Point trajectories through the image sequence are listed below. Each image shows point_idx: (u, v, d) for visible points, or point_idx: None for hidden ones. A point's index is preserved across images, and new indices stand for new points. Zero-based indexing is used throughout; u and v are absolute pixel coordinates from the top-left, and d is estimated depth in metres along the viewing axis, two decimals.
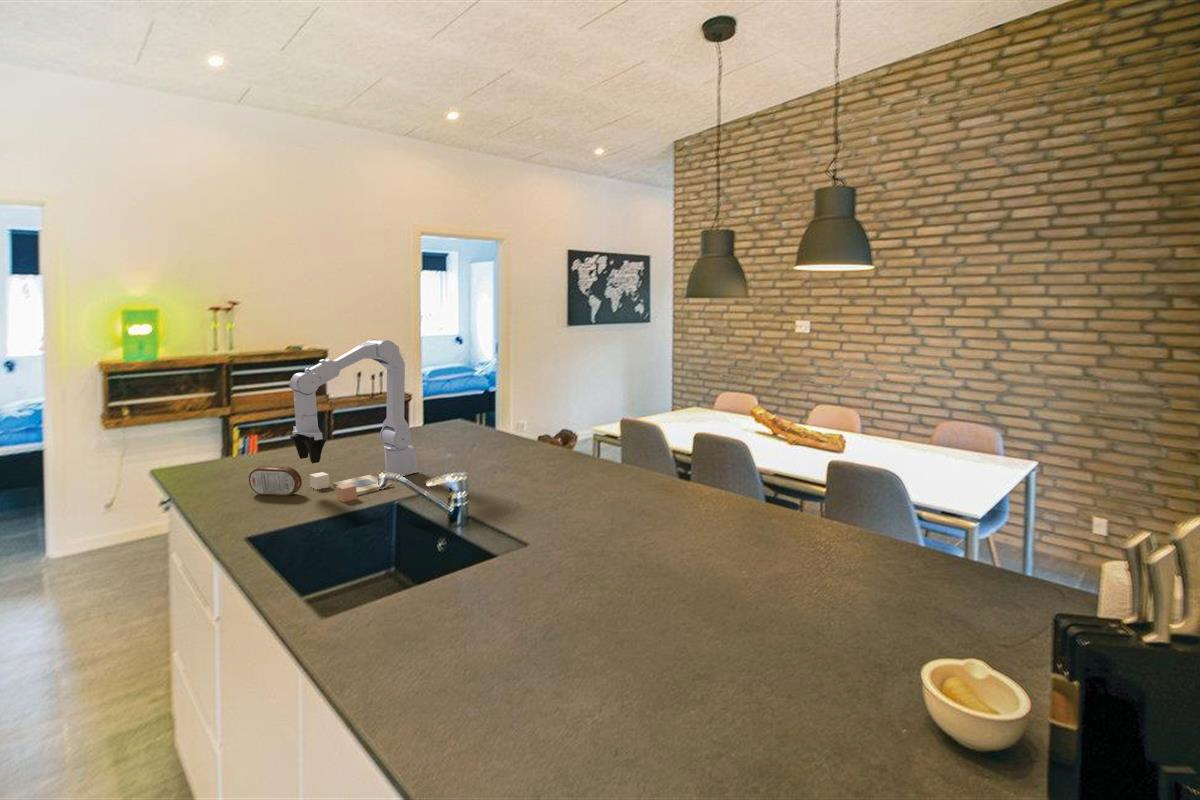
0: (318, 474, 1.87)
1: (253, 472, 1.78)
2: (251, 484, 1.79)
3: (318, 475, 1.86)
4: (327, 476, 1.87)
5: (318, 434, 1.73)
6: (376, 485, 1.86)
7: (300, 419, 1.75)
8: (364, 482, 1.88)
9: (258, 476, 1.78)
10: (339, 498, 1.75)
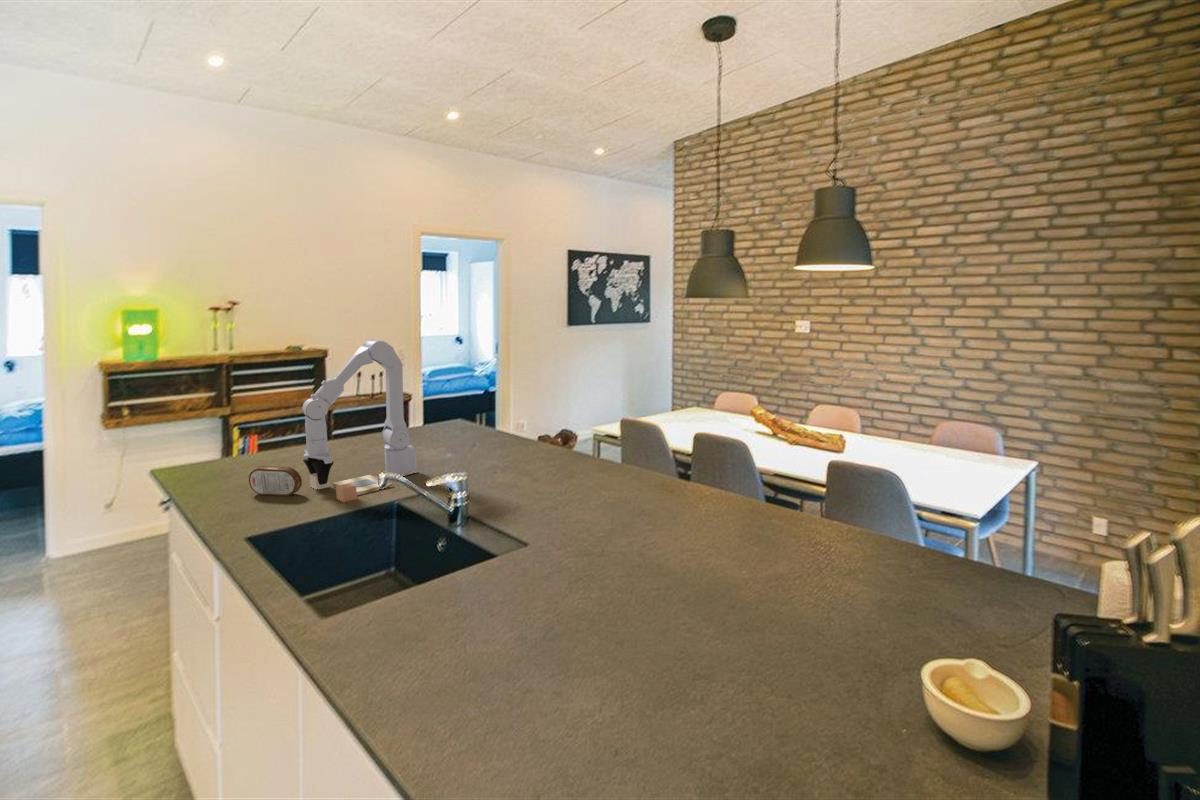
0: None
1: (253, 472, 1.78)
2: (251, 484, 1.79)
3: None
4: None
5: (328, 458, 1.81)
6: (376, 485, 1.86)
7: (311, 443, 1.82)
8: (364, 482, 1.88)
9: (258, 476, 1.78)
10: (339, 498, 1.75)
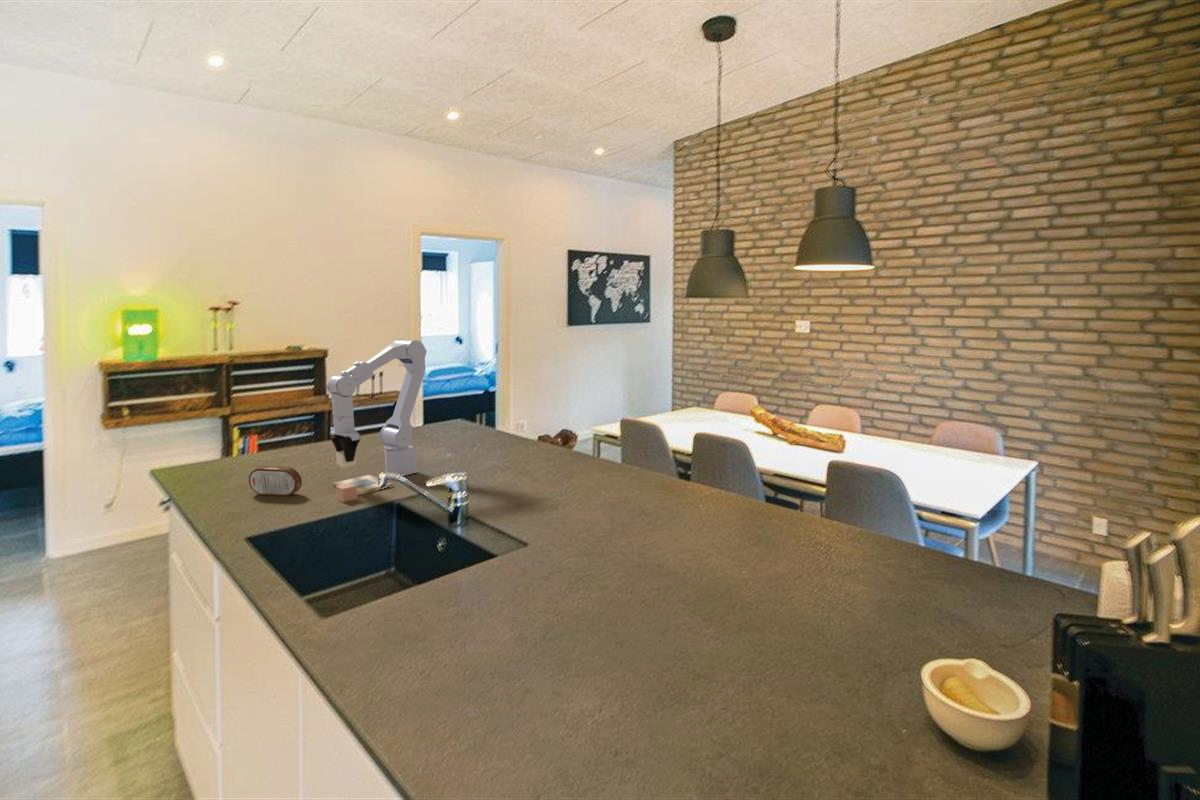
0: None
1: (253, 472, 1.78)
2: (251, 484, 1.79)
3: None
4: None
5: (355, 435, 1.80)
6: (376, 485, 1.86)
7: (338, 420, 1.82)
8: (364, 482, 1.88)
9: (258, 476, 1.78)
10: (339, 498, 1.75)
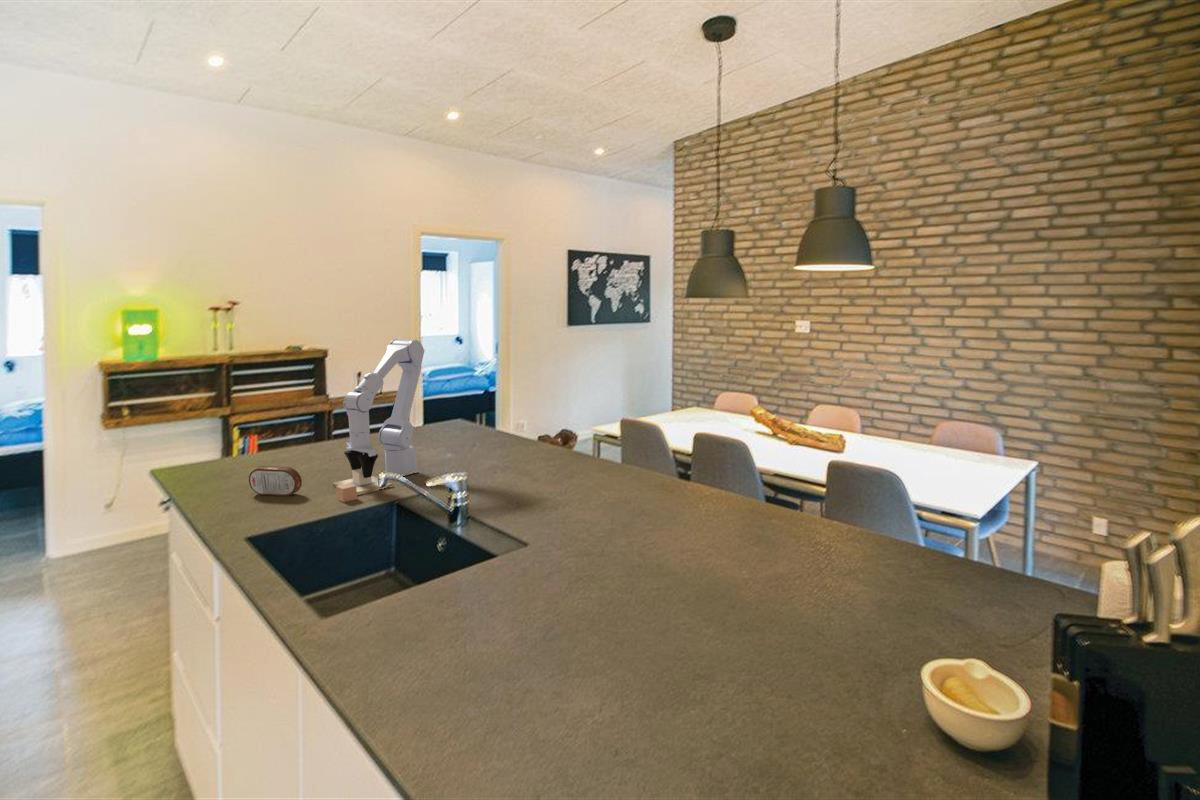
0: (360, 470, 1.87)
1: (253, 472, 1.78)
2: (251, 484, 1.79)
3: (361, 471, 1.86)
4: None
5: (372, 450, 1.81)
6: (376, 485, 1.86)
7: (354, 436, 1.83)
8: None
9: (258, 476, 1.78)
10: (339, 498, 1.75)
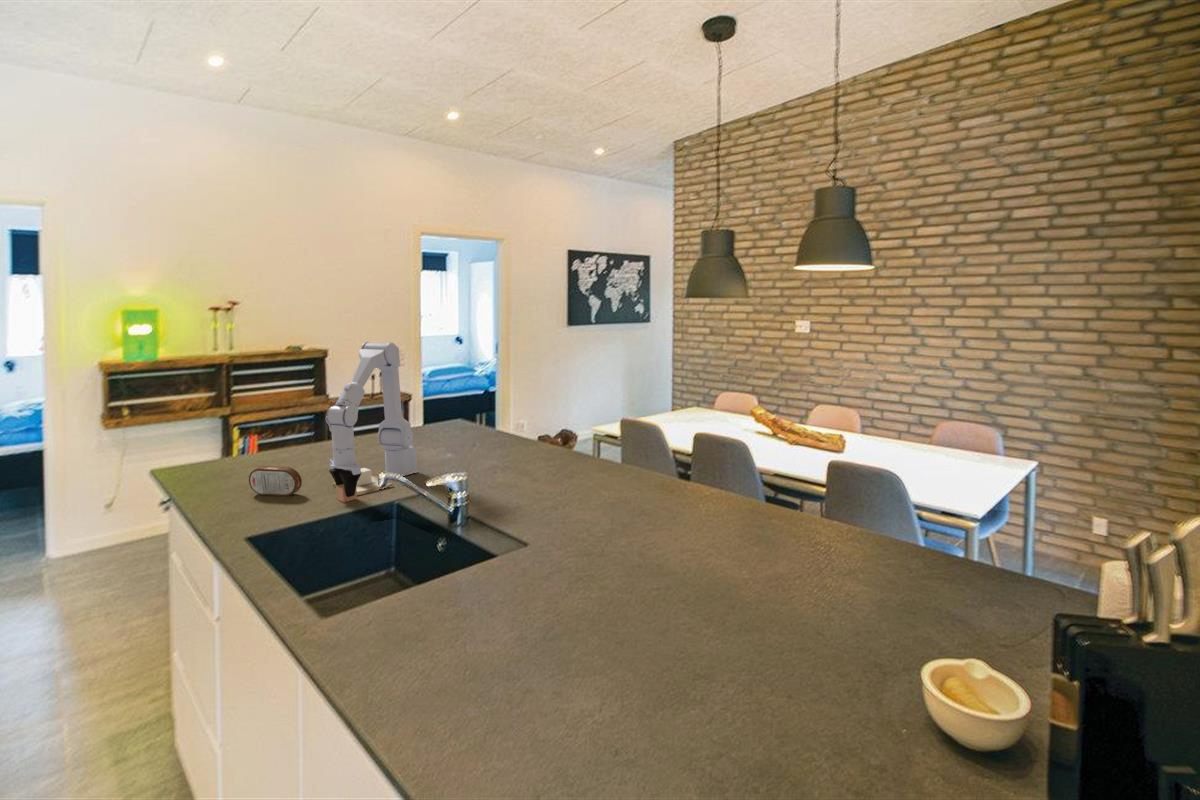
0: None
1: (253, 472, 1.78)
2: (251, 484, 1.79)
3: (361, 471, 1.86)
4: (369, 472, 1.87)
5: (356, 469, 1.70)
6: (376, 485, 1.86)
7: (338, 453, 1.71)
8: None
9: (258, 476, 1.78)
10: (339, 498, 1.75)
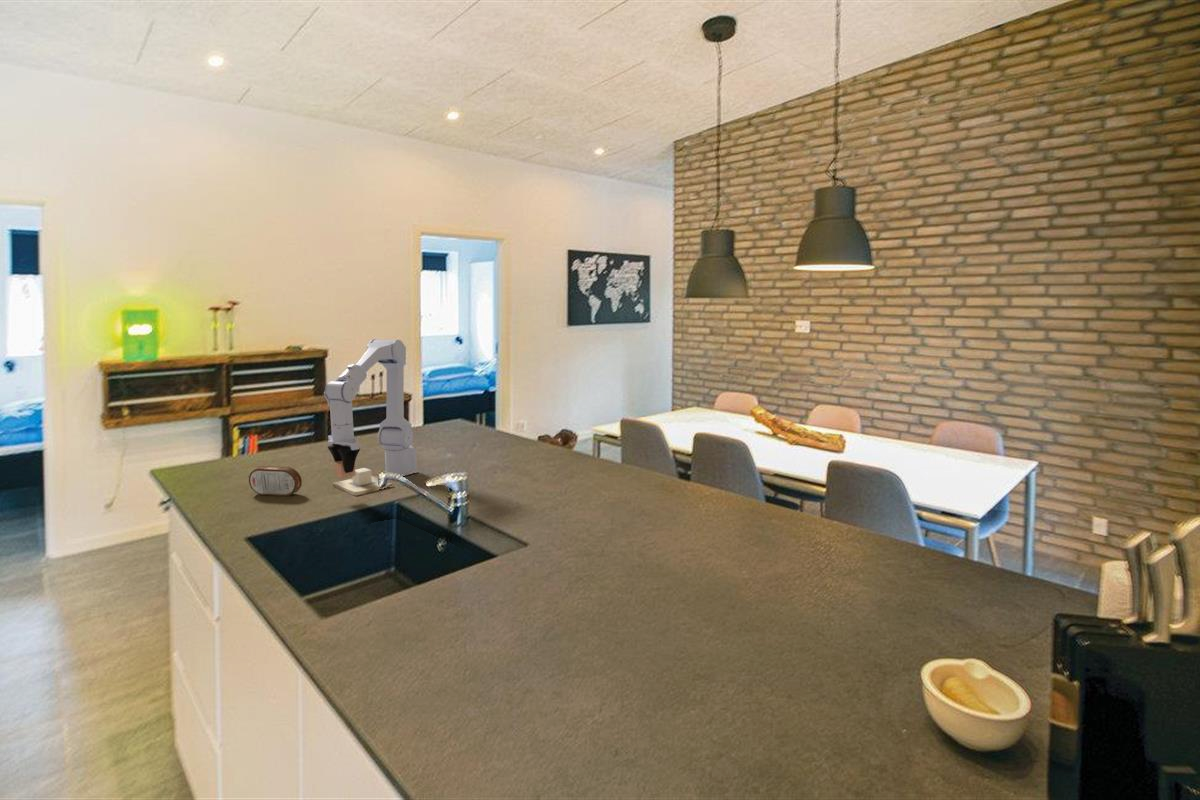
0: (360, 470, 1.87)
1: (253, 472, 1.78)
2: (251, 484, 1.79)
3: (361, 471, 1.86)
4: (369, 472, 1.87)
5: (355, 444, 1.69)
6: (376, 485, 1.86)
7: (336, 428, 1.70)
8: None
9: (258, 476, 1.78)
10: (337, 474, 1.74)
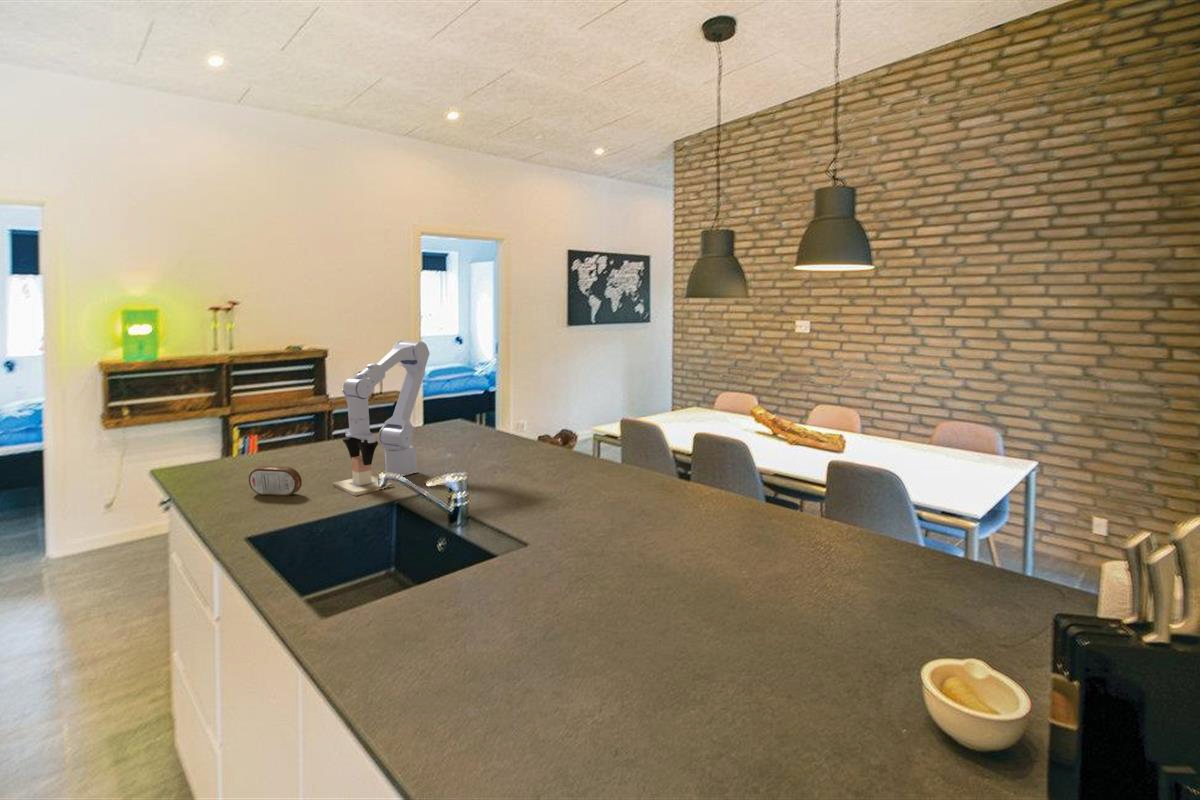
0: None
1: (253, 472, 1.78)
2: (251, 484, 1.79)
3: None
4: (369, 472, 1.87)
5: (371, 437, 1.81)
6: (376, 485, 1.86)
7: (354, 423, 1.82)
8: None
9: (258, 476, 1.78)
10: (354, 469, 1.86)
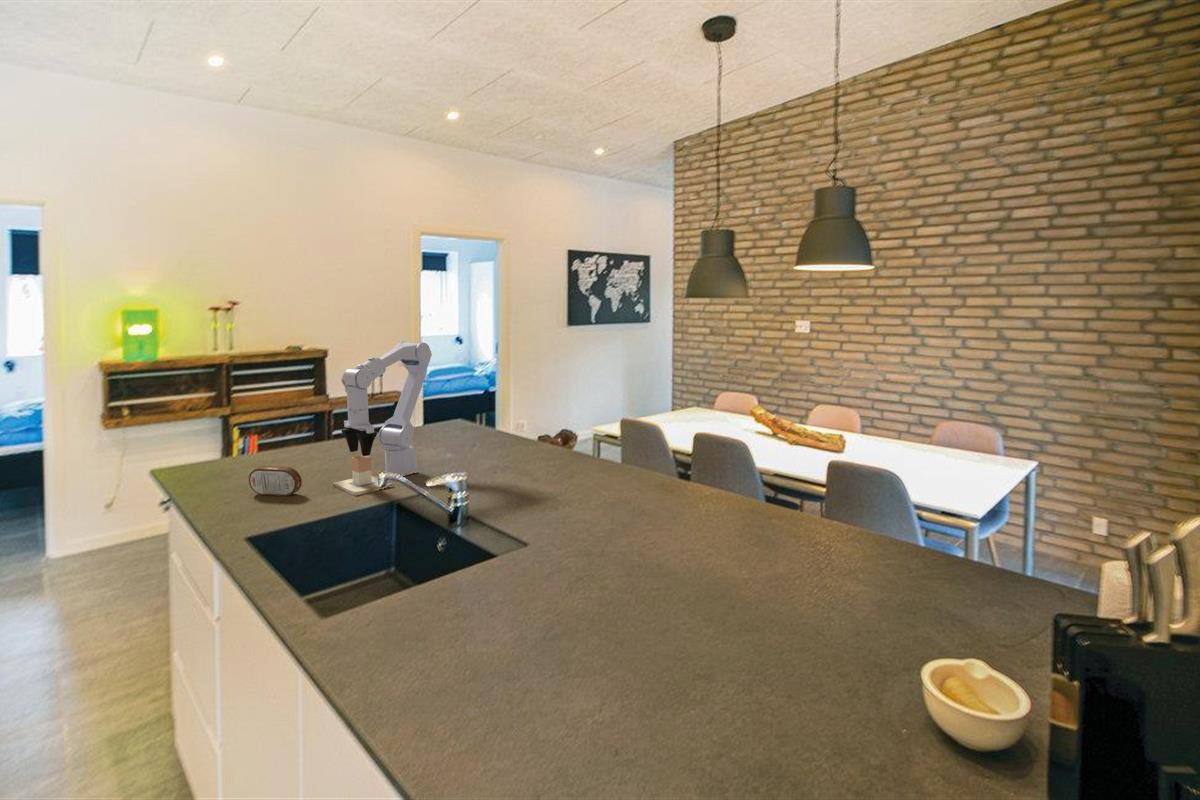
0: None
1: (253, 472, 1.78)
2: (251, 484, 1.79)
3: None
4: (369, 472, 1.87)
5: (370, 428, 1.80)
6: (376, 485, 1.86)
7: (353, 413, 1.81)
8: None
9: (258, 476, 1.78)
10: (354, 469, 1.86)
